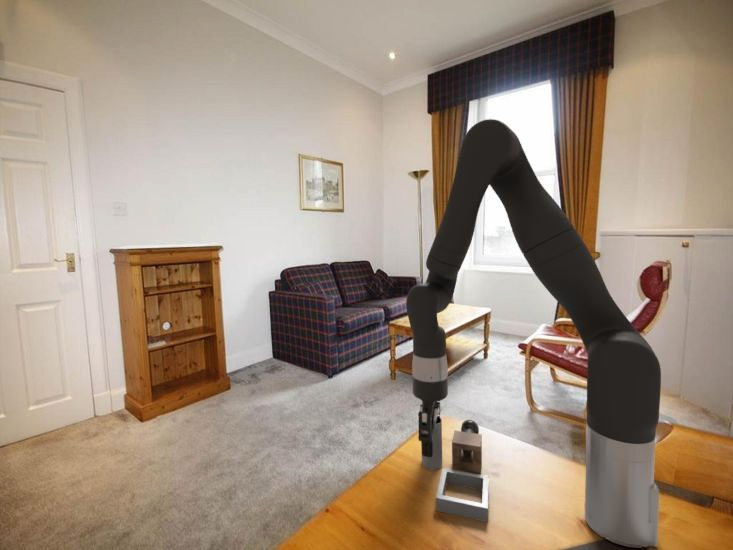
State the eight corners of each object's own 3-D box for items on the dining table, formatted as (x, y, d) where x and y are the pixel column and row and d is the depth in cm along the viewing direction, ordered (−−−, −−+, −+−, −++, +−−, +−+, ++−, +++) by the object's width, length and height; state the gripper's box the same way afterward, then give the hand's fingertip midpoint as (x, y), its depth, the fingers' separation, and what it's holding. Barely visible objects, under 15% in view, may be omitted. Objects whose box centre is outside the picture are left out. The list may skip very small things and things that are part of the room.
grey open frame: (488, 488, 70) (488, 476, 70) (487, 522, 61) (487, 508, 61) (442, 479, 73) (442, 467, 73) (436, 510, 65) (435, 497, 64)
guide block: (481, 462, 78) (481, 434, 77) (480, 477, 73) (480, 446, 73) (454, 458, 80) (454, 430, 79) (452, 471, 75) (451, 442, 75)
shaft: (478, 437, 85) (478, 421, 84) (476, 460, 76) (476, 442, 75) (461, 434, 86) (461, 418, 86) (457, 456, 77) (457, 439, 77)
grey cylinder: (442, 471, 76) (441, 425, 75) (421, 469, 76) (420, 423, 76) (442, 458, 80) (441, 415, 79) (422, 456, 81) (421, 413, 80)
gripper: (442, 388, 68) (443, 467, 70) (451, 364, 82) (451, 431, 83) (405, 384, 71) (406, 460, 72) (419, 361, 84) (420, 426, 86)
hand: (430, 444), depth 78 cm, fingers open, 8 cm apart
